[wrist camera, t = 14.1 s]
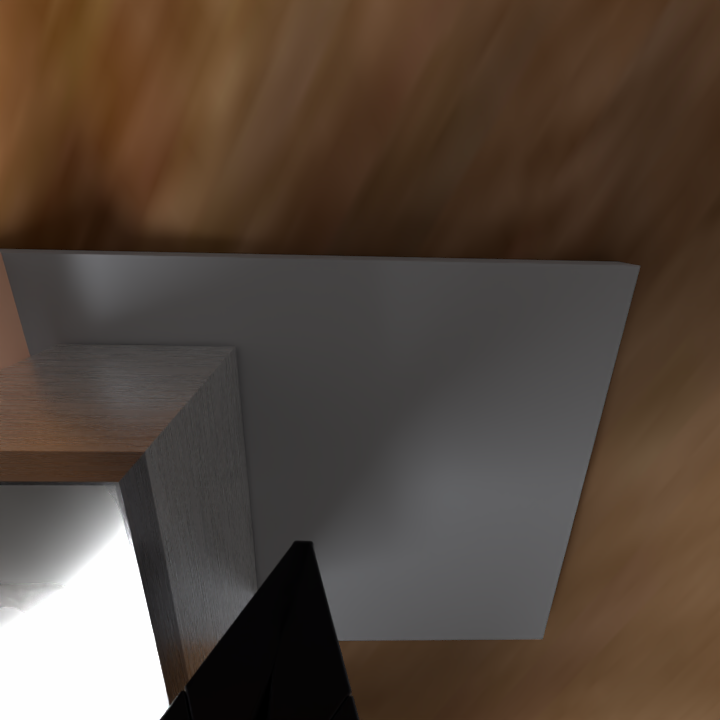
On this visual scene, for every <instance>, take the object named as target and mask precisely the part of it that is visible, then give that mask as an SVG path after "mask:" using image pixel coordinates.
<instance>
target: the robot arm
mask: <svg viewBox="0 0 720 720" xmlns="http://www.w3.org/2000/svg"><path fill="white" fill-rule="evenodd" d="M159 720H359V717H358V713H357V709H356V705H355V701H354V698H353V696H352V691H351V687H350V683H349V680H348V676H347V672H346V668H345V665H344V661H343V657H342V653H341V649H340V646H339V642H338V638H337V634H336V631H335V627H334V623H333V619H332V616H331V612H330V608H329V604H328V600H327V597H326V593H325V589H324V585H323V582H322V578H321V574H320V570H319V566H318V563H317V559H316V555H315V551H314V543H313V542H312V541H300V540H296V541H294V542H293V543H292V545H291V547H290V548H289V549H288V550H287V552H286V553H285V554H284V556H283V557H282V558H281V560H280V561H279V562H278V564H277V565H276V566H275V568H274V569H273V570H272V572H271V573H270V574H269V576H268V577H267V578H266V580H265V581H264V582H263V584H262V585H261V586H260V588H259V589H258V590H257V591H256V593H255V594H254V595H253V597H252V598H251V599H250V601H249V602H248V603H247V605H246V606H245V607H244V609H243V610H242V611H241V613H240V614H239V615H238V617H237V618H236V619H235V621H234V622H233V623H232V625H231V626H230V627H229V628H228V630H227V631H226V632H225V634H224V635H223V636H222V638H221V639H220V640H219V642H218V643H217V644H216V646H215V647H214V648H213V650H212V651H211V652H210V654H209V655H208V656H207V658H206V659H205V660H204V662H203V663H202V664H201V665H200V667H199V668H198V669H197V671H196V672H195V673H194V675H193V676H192V677H191V679H190V680H189V681H188V683H187V684H186V685H185V691H184V690H182V691H181V692H180V693H179V694H178V696H177V697H176V698H175V700H174V701H173V702H172V704H171V705H170V706H169V708H168V709H167V710H166V711H165V713H164V714H163V715H162V717H161V718H160V719H159Z"/></svg>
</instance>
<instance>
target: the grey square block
mask: <svg viewBox="0 0 720 720" xmlns="http://www.w3.org/2000/svg"><path fill="white" fill-rule="evenodd" d="M257 590H258V589H257V578H256V567H255V556H254V545H253V534H252V523H251V512H250V501H249V490H248V479H247V468H246V457H245V446H244V435H243V424H242V413H241V402H240V391H239V380H238V369H237V358H236V347H235V346H165V345H94V344H58V345H55V346H53V347H51V348H49V349H47V350H44V351H42V352H40V353H38V354H35V355H33V356H31V357H29V358H26V359H24V360H22V361H20V362H18V363H15V364H13V365H11V366H9V367H6V368H4V369H2V370H0V720H159V719H160V718H161V717H162V715H163V714H164V713H165V711H166V710H167V709H168V708H169V706H170V705H171V704H172V702H173V701H174V700H175V698H176V697H177V696H178V694H179V693H180V692H181V691H182V690H184V691H185V685H186V684H187V683H188V681H189V680H190V679H191V677H192V676H193V675H194V673H195V672H196V671H197V669H198V668H199V667H200V665H201V664H202V663H203V662H204V660H205V659H206V658H207V656H208V655H209V654H210V652H211V651H212V650H213V648H214V647H215V646H216V644H217V643H218V642H219V640H220V639H221V638H222V636H223V635H224V634H225V632H226V631H227V630H228V628H229V627H230V626H231V625H232V623H233V622H234V621H235V619H236V618H237V617H238V615H239V614H240V613H241V611H242V610H243V609H244V607H245V606H246V605H247V603H248V602H249V601H250V599H251V598H252V597H253V595H254V594H255V593H256V591H257Z"/></svg>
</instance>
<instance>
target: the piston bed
mask: <svg viewBox="0 0 720 720" xmlns="http://www.w3.org/2000/svg"><path fill="white" fill-rule="evenodd" d="M639 269H640V266H639V265H634V264H628V263H623V262H613V261H565V260H517V259H469V258H421V257H373V256H325V255H277V254H229V253H181V252H133V251H85V250H37V249H0V370H2V369H4V368H6V367H9V366H11V365H13V364H15V363H18V362H20V361H22V360H24V359H26V358H29V357H31V356H33V355H35V354H38V353H40V352H42V351H44V350H47V349H49V348H51V347H53V346H55V345H58V344H94V345H165V346H235V347H236V358H237V369H238V380H239V391H240V402H241V413H242V424H243V435H244V446H245V457H246V468H247V479H248V490H249V501H250V512H251V523H252V534H253V545H254V556H255V567H256V578H257V589H259V588H260V586H261V585H262V584H263V582H264V581H265V580H266V578H267V577H268V576H269V574H270V573H271V572H272V570H273V569H274V568H275V566H276V565H277V564H278V562H279V561H280V560H281V558H282V557H283V556H284V554H285V553H286V552H287V550H288V549H289V548H290V547H291V545H292V543H293V542H294V541H296V540H300V541H312V542H313V543H314V551H315V555H316V559H317V563H318V566H319V570H320V574H321V578H322V582H323V585H324V589H325V593H326V597H327V600H328V604H329V608H330V612H331V616H332V619H333V623H334V627H335V631H336V634H337V638H338V641H371V640H506V639H543V636H544V632H545V628H546V624H547V620H548V617H549V613H550V609H551V605H552V601H553V598H554V594H555V590H556V586H557V582H558V578H559V575H560V571H561V567H562V563H563V559H564V556H565V552H566V548H567V544H568V540H569V536H570V533H571V529H572V525H573V521H574V517H575V514H576V510H577V506H578V502H579V498H580V494H581V491H582V487H583V483H584V479H585V475H586V472H587V468H588V464H589V460H590V456H591V453H592V449H593V445H594V441H595V437H596V433H597V430H598V426H599V422H600V418H601V414H602V411H603V407H604V403H605V399H606V395H607V391H608V388H609V384H610V380H611V376H612V372H613V369H614V365H615V361H616V357H617V353H618V349H619V346H620V342H621V338H622V334H623V330H624V327H625V323H626V319H627V315H628V311H629V308H630V304H631V300H632V296H633V292H634V288H635V285H636V281H637V277H638V273H639Z"/></svg>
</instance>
